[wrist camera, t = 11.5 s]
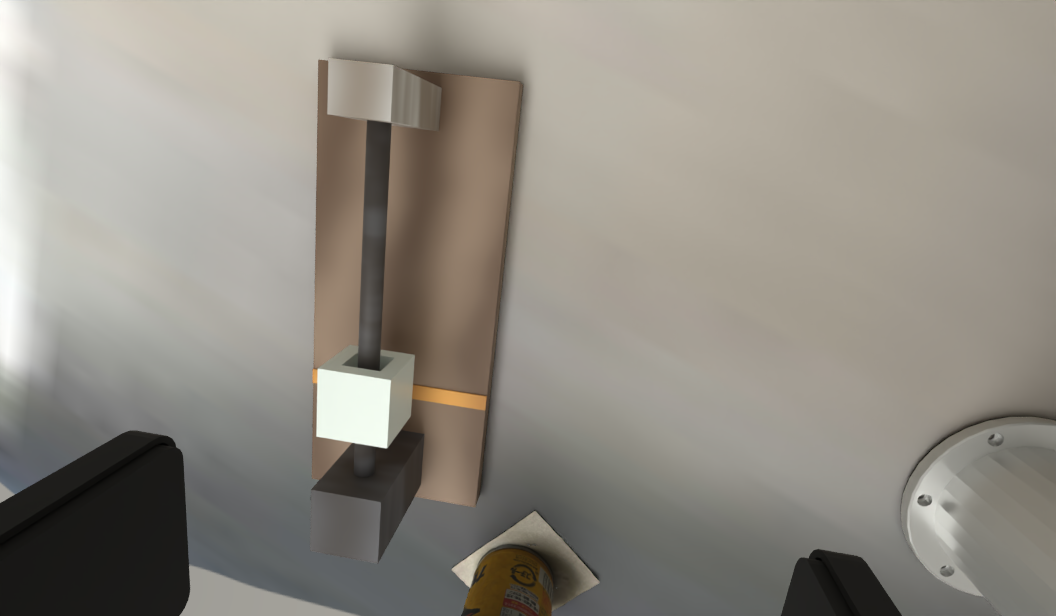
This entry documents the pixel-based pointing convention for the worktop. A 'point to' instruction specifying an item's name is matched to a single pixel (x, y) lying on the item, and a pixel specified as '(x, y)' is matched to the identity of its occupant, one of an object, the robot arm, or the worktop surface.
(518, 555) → the condiment
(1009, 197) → the worktop surface
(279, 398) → the worktop surface
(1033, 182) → the worktop surface
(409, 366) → the sleeve
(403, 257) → the rod slider rig
